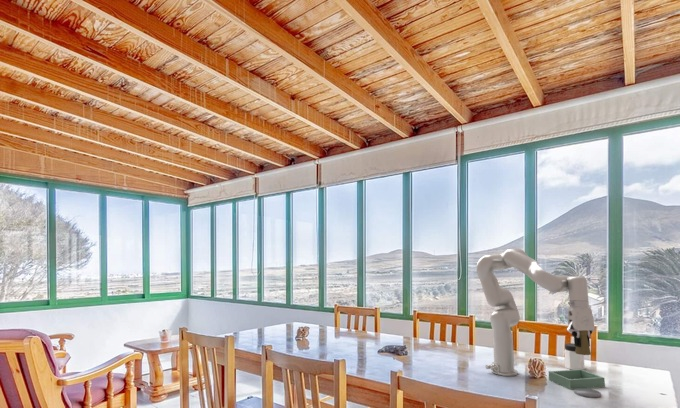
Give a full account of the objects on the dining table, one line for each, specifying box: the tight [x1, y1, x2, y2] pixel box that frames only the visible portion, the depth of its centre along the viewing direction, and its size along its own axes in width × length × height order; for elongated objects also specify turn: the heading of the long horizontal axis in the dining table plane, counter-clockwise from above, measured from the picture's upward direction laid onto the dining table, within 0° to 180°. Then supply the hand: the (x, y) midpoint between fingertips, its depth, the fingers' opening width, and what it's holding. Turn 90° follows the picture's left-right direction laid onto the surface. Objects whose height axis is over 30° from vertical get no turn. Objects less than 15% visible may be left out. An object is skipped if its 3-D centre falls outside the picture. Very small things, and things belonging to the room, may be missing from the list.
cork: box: [575, 331, 592, 356], centre depth 183 cm, size 6×6×11 cm
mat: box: [573, 388, 602, 399], centre depth 178 cm, size 10×10×1 cm
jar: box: [563, 342, 586, 371], centre depth 218 cm, size 9×8×12 cm
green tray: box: [548, 369, 606, 390], centre depth 192 cm, size 18×14×4 cm
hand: (582, 345), depth 183 cm, fingers closed on cork, 3 cm apart
